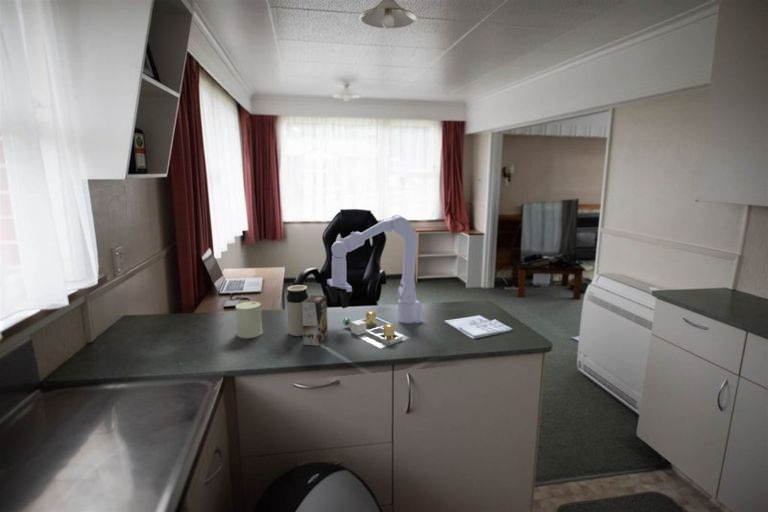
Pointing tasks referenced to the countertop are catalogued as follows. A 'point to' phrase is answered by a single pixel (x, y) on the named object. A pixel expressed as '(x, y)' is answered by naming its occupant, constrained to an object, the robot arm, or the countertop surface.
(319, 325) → the coffee box
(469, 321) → the white printed book
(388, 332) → the billet
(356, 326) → the white block
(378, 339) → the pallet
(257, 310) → the can
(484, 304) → the countertop surface
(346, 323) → the knob
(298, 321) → the travel mug
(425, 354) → the countertop surface
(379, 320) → the tray
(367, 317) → the cylinder
